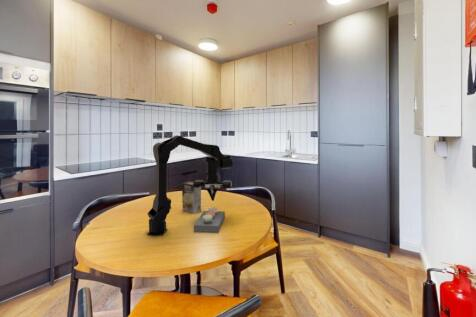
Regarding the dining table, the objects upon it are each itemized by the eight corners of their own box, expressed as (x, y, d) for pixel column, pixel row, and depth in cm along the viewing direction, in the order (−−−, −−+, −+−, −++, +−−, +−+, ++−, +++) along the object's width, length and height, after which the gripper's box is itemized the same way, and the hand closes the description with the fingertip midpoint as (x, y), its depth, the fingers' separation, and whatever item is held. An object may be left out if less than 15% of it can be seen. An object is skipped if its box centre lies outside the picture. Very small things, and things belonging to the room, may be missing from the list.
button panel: (193, 232, 112) (193, 225, 112) (204, 216, 132) (203, 210, 132) (218, 232, 111) (218, 225, 111) (224, 217, 131) (224, 211, 131)
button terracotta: (205, 218, 119) (204, 214, 119) (206, 214, 124) (206, 211, 123) (214, 218, 119) (214, 214, 119) (215, 215, 123) (215, 211, 123)
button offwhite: (207, 213, 126) (207, 210, 125) (209, 210, 130) (209, 207, 130) (216, 213, 125) (216, 210, 125) (218, 211, 130) (218, 207, 129)
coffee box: (181, 211, 142) (181, 183, 140) (189, 208, 147) (189, 181, 145) (194, 213, 137) (193, 184, 135) (201, 210, 142) (201, 182, 140)
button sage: (201, 221, 113) (201, 217, 113) (203, 218, 117) (203, 214, 117) (211, 221, 112) (211, 217, 112) (213, 218, 117) (213, 214, 116)
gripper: (233, 167, 132) (233, 196, 134) (198, 167, 134) (198, 196, 136) (230, 171, 121) (230, 202, 123) (192, 170, 123) (193, 201, 125)
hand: (213, 200), depth 127 cm, fingers closed
